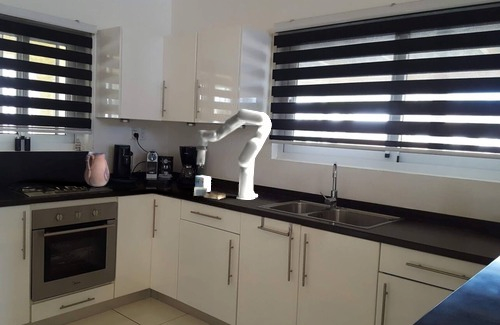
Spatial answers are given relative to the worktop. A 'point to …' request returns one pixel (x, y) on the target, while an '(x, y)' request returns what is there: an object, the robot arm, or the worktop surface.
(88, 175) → the ceramic pitcher
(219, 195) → the oak board
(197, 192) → the frame slab
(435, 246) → the worktop surface
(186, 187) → the worktop surface
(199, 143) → the robot arm
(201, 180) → the light bulb box
